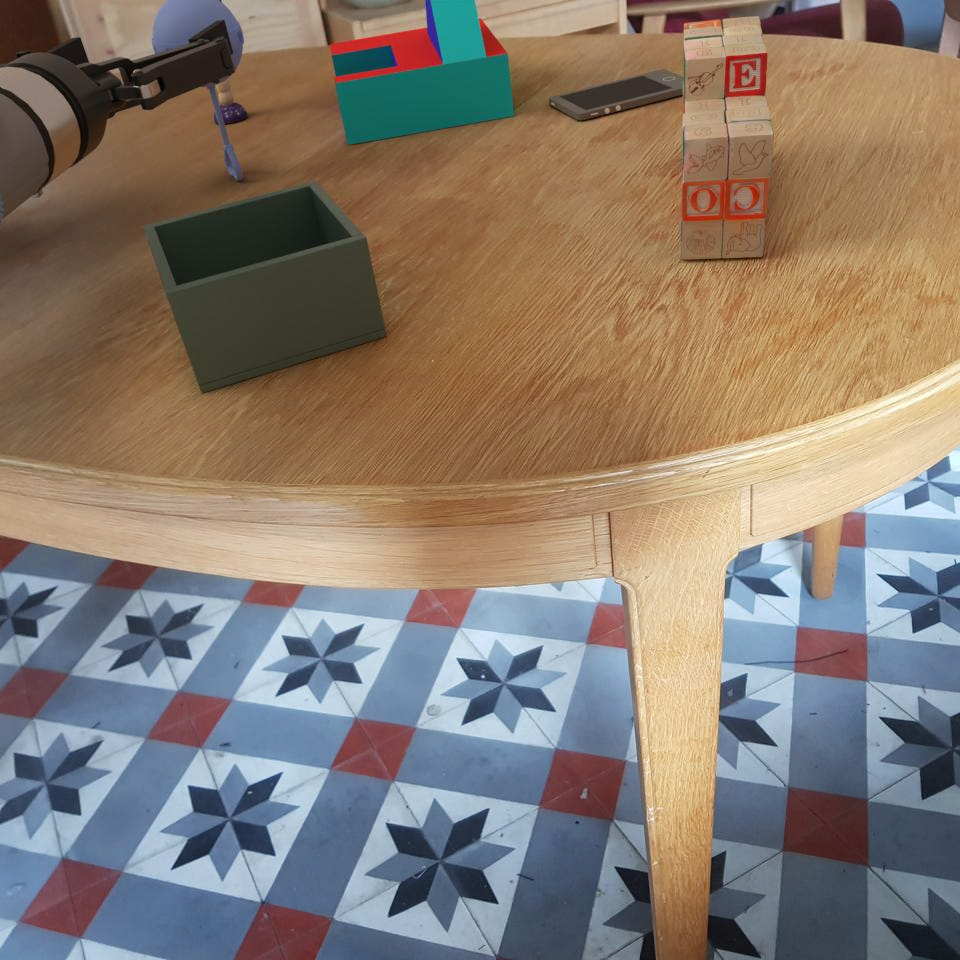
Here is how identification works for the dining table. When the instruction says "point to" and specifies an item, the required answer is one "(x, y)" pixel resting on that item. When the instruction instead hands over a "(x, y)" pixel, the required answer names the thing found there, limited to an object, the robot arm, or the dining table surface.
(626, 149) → the dining table surface
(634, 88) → the smartphone
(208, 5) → the baby rattle
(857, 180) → the dining table surface
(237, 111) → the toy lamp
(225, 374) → the toy bin
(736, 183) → the stack of blocks
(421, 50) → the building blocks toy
